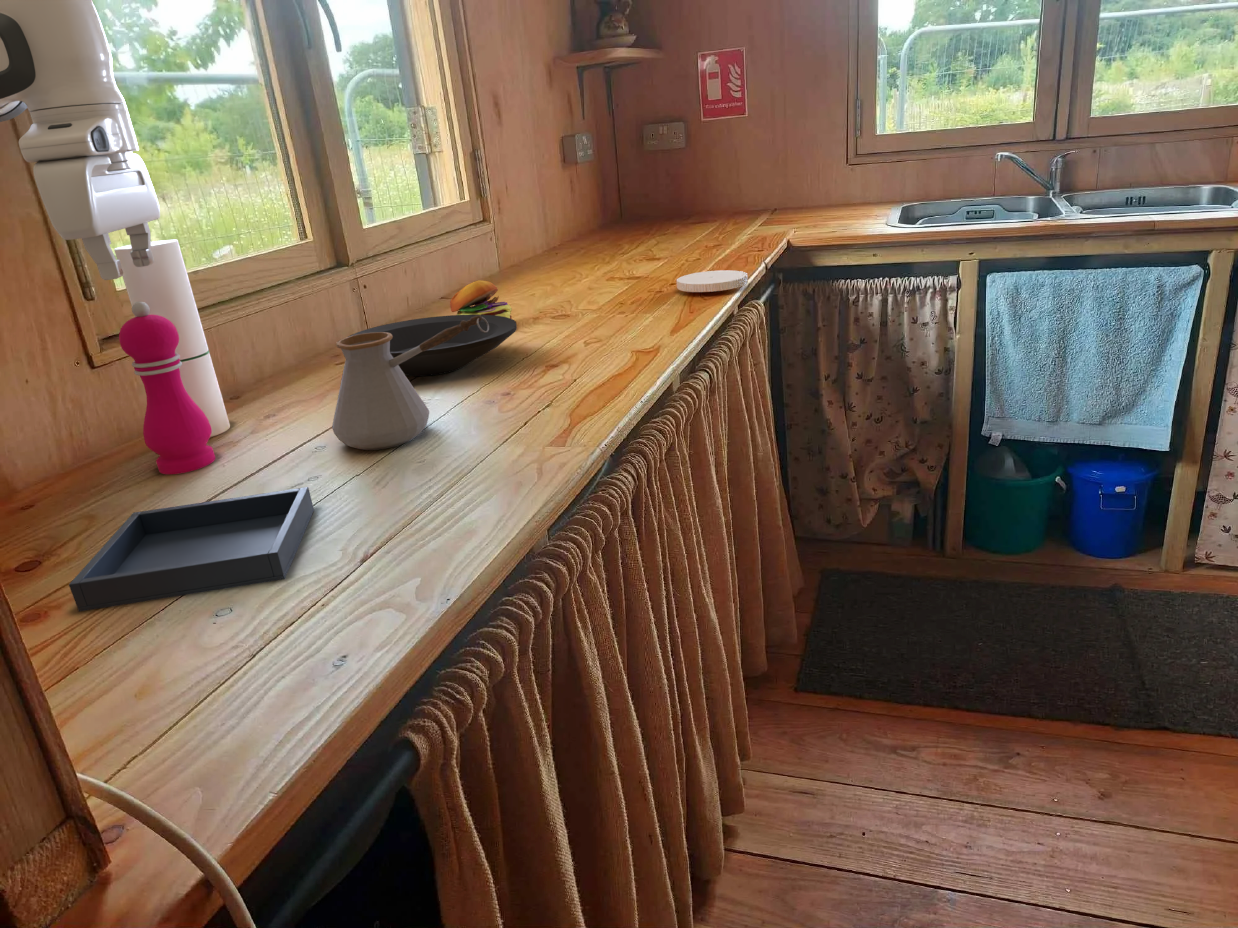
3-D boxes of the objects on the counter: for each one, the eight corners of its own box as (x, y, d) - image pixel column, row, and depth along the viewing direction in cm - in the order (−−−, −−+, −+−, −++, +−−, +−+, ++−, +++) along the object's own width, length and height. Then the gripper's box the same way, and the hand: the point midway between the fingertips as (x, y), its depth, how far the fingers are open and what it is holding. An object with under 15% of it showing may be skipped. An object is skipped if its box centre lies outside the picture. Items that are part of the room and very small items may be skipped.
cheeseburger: (492, 337, 153) (472, 282, 150) (451, 348, 159) (431, 296, 157) (527, 322, 161) (508, 270, 158) (486, 334, 167) (467, 283, 165)
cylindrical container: (221, 422, 121) (169, 238, 112) (238, 432, 116) (184, 240, 106) (167, 437, 117) (108, 248, 108) (181, 448, 112) (121, 250, 102)
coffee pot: (318, 459, 102) (288, 334, 97) (367, 426, 113) (342, 311, 107) (486, 460, 97) (464, 327, 91) (522, 424, 107) (504, 303, 101)
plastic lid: (669, 298, 170) (668, 285, 169) (687, 284, 182) (686, 271, 181) (740, 296, 165) (739, 282, 164) (753, 281, 178) (753, 269, 177)
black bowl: (315, 390, 132) (306, 354, 130) (397, 348, 153) (390, 317, 151) (482, 389, 123) (475, 351, 121) (544, 345, 144) (540, 312, 142)
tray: (80, 616, 72) (68, 584, 71) (142, 539, 86) (133, 512, 84) (286, 583, 74) (277, 552, 73) (315, 513, 87) (308, 486, 86)
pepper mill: (155, 466, 106) (103, 303, 99) (218, 451, 109) (172, 292, 102) (155, 484, 100) (100, 312, 93) (222, 468, 103) (174, 300, 95)
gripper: (96, 141, 100) (134, 262, 105) (8, 143, 81) (59, 291, 86) (153, 134, 101) (188, 255, 106) (79, 135, 82) (126, 282, 87)
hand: (130, 272), depth 96 cm, fingers open, 8 cm apart
